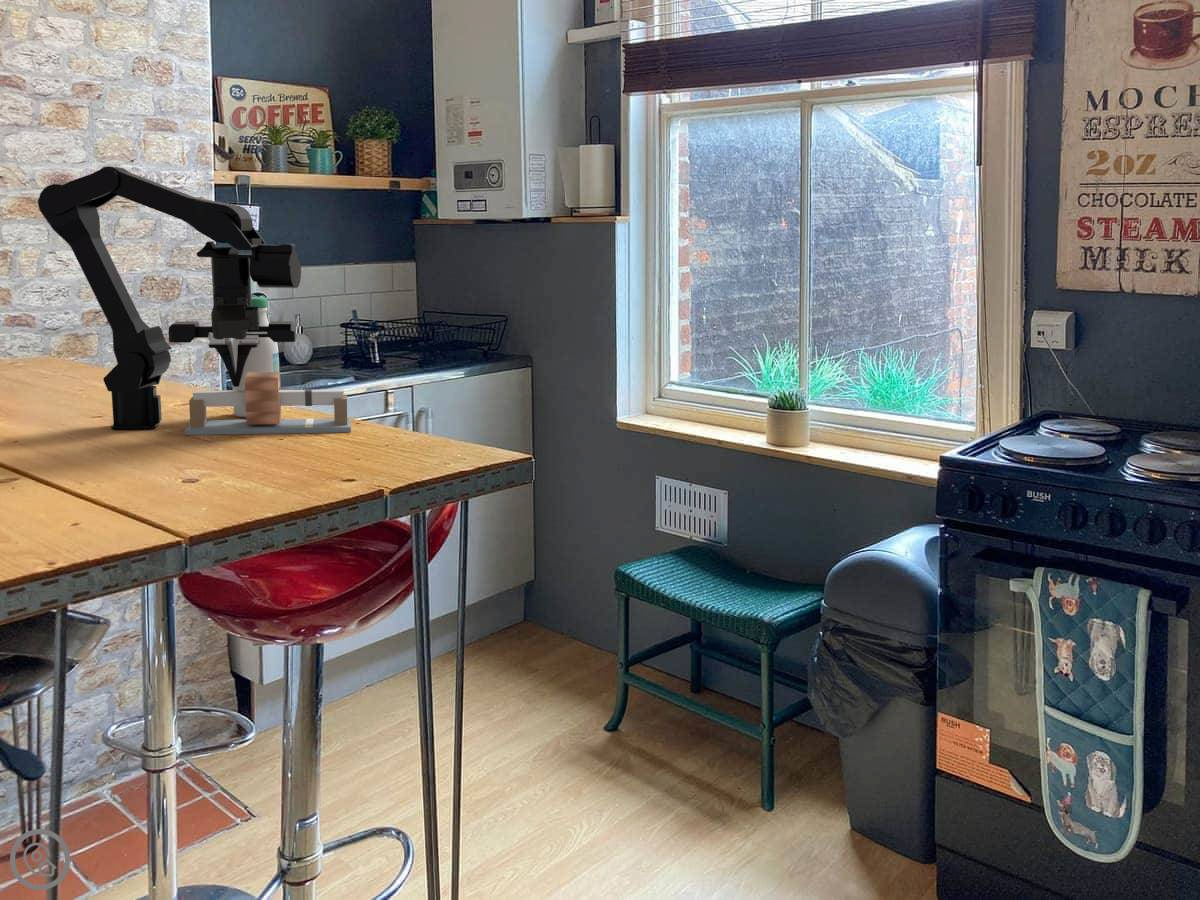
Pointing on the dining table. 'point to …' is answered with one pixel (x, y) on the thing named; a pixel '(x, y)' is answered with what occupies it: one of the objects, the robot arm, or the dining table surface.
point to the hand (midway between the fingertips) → (236, 386)
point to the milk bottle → (257, 353)
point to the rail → (286, 398)
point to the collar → (262, 398)
